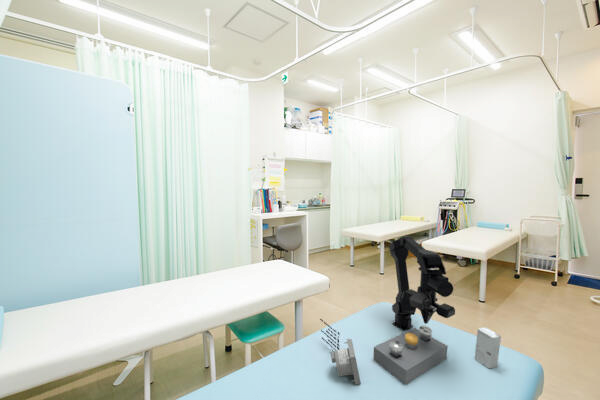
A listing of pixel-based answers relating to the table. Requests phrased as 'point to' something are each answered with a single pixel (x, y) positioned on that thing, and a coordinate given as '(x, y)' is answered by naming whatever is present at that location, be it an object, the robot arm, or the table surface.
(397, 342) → the near button
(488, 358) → the skincare box
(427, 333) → the far button
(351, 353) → the grey ridged piece
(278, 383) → the table surface
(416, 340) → the middle button
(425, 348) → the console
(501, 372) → the table surface
